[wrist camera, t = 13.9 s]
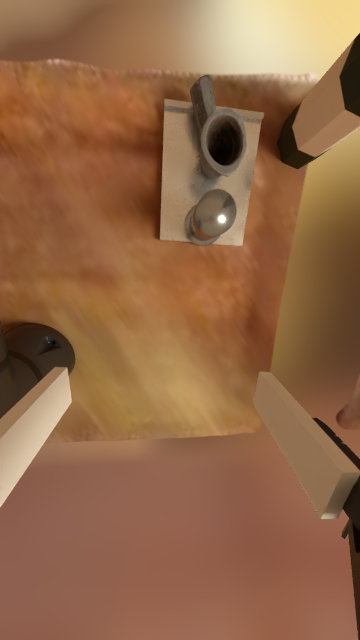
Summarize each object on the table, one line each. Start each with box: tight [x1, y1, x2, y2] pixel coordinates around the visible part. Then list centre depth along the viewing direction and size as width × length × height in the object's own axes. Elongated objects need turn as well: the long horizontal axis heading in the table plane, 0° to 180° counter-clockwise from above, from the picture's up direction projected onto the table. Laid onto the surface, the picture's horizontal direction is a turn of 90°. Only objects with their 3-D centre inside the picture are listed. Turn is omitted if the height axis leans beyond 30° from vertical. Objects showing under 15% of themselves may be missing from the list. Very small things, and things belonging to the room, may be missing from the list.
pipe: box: [190, 75, 247, 180], centre depth 27 cm, size 6×13×8 cm, turn 20°
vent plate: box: [160, 99, 264, 246], centre depth 29 cm, size 16×21×11 cm
